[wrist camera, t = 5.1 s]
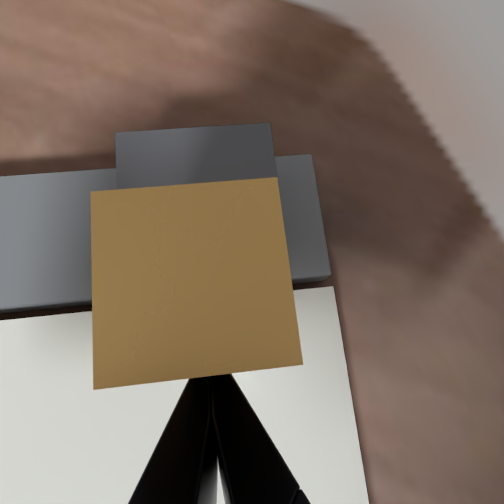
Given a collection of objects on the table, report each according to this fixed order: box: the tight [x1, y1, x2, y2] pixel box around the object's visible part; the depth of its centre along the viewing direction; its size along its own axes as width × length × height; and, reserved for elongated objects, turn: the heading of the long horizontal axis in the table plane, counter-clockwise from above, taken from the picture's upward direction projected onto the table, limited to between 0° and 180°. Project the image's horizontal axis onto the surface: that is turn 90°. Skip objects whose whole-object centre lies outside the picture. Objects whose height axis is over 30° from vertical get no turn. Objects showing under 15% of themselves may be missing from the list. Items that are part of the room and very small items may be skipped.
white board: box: [0, 123, 369, 504], centre depth 14 cm, size 22×16×5 cm
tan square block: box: [91, 177, 303, 390], centre depth 11 cm, size 7×3×10 cm, turn 6°
